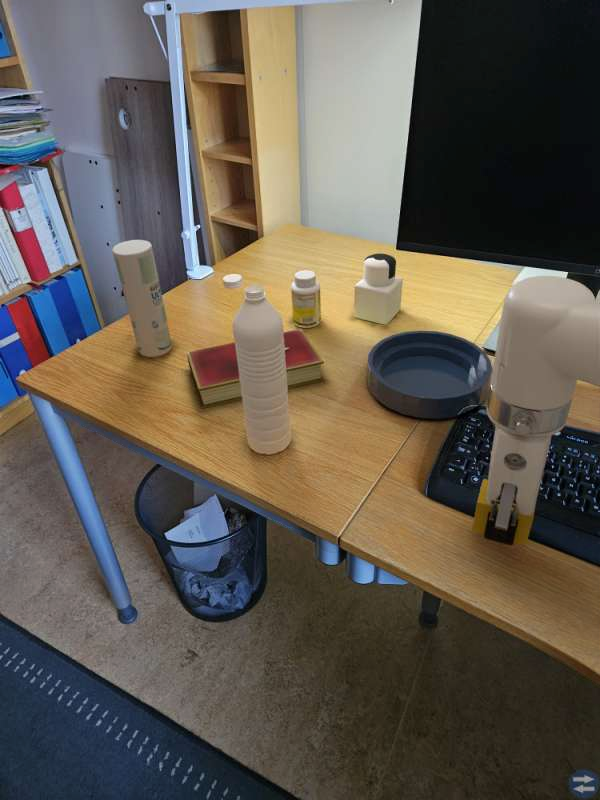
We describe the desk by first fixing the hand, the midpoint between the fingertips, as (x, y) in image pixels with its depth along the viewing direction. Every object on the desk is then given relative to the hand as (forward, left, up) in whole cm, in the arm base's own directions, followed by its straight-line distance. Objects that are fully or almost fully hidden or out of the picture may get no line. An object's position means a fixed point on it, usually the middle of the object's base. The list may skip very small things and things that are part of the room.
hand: (501, 524), depth 66 cm
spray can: (+66, -21, -3) cm, 69 cm away
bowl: (+16, -28, -3) cm, 32 cm away
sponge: (0, 0, 0) cm, 0 cm away
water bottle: (+35, -6, -3) cm, 36 cm away
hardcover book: (+44, -20, -3) cm, 48 cm away
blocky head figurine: (+31, -48, -3) cm, 57 cm away
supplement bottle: (+43, -40, -3) cm, 59 cm away
